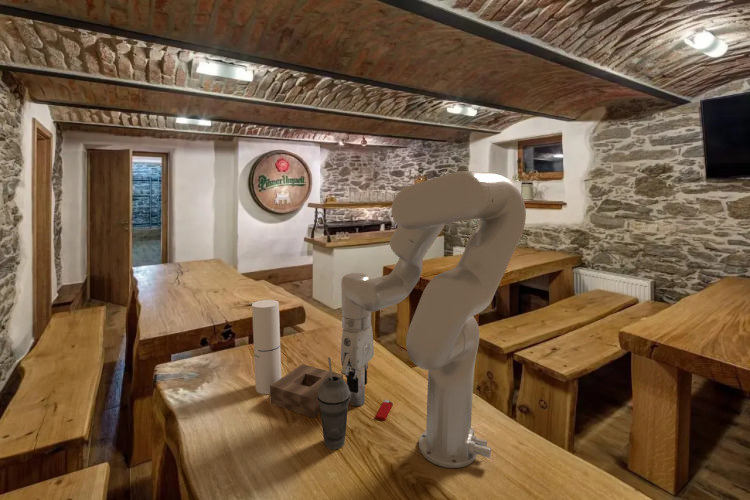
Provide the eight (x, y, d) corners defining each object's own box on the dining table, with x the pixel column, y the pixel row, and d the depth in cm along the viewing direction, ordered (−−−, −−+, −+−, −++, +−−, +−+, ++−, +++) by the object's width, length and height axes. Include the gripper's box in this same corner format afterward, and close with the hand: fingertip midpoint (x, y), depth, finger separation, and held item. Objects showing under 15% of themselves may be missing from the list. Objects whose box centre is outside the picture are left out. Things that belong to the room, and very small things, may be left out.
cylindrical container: (274, 395, 105) (271, 308, 101) (251, 392, 106) (246, 306, 102) (285, 382, 112) (283, 300, 108) (263, 380, 113) (260, 299, 109)
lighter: (374, 415, 94) (383, 398, 102) (374, 420, 95) (383, 403, 102) (385, 417, 93) (393, 400, 101) (385, 422, 94) (393, 405, 101)
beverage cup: (337, 458, 80) (336, 370, 77) (311, 446, 84) (309, 361, 81) (357, 439, 86) (356, 356, 83) (331, 429, 90) (330, 349, 87)
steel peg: (367, 400, 102) (367, 358, 100) (360, 407, 99) (359, 364, 97) (354, 396, 104) (354, 355, 102) (347, 403, 101) (346, 360, 99)
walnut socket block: (343, 391, 107) (342, 374, 106) (313, 417, 95) (313, 398, 94) (303, 379, 113) (302, 364, 112) (270, 403, 101) (269, 385, 100)
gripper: (353, 334, 89) (353, 406, 92) (383, 314, 104) (383, 376, 107) (326, 329, 92) (327, 399, 95) (359, 310, 107) (360, 371, 110)
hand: (357, 386), depth 101 cm, fingers closed on steel peg, 4 cm apart
